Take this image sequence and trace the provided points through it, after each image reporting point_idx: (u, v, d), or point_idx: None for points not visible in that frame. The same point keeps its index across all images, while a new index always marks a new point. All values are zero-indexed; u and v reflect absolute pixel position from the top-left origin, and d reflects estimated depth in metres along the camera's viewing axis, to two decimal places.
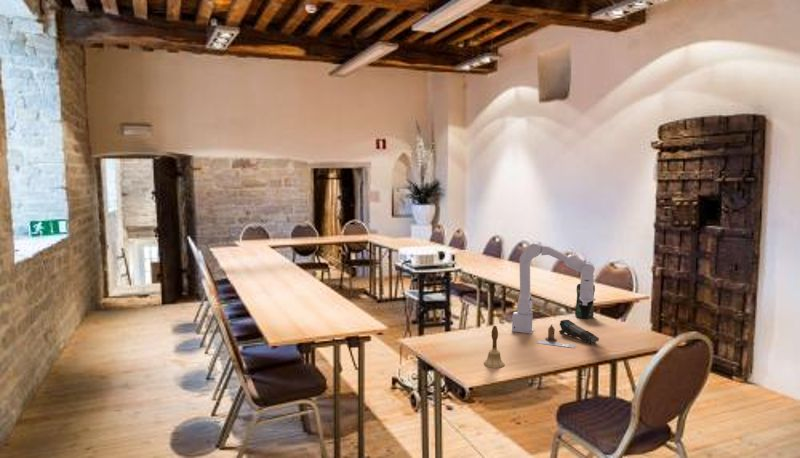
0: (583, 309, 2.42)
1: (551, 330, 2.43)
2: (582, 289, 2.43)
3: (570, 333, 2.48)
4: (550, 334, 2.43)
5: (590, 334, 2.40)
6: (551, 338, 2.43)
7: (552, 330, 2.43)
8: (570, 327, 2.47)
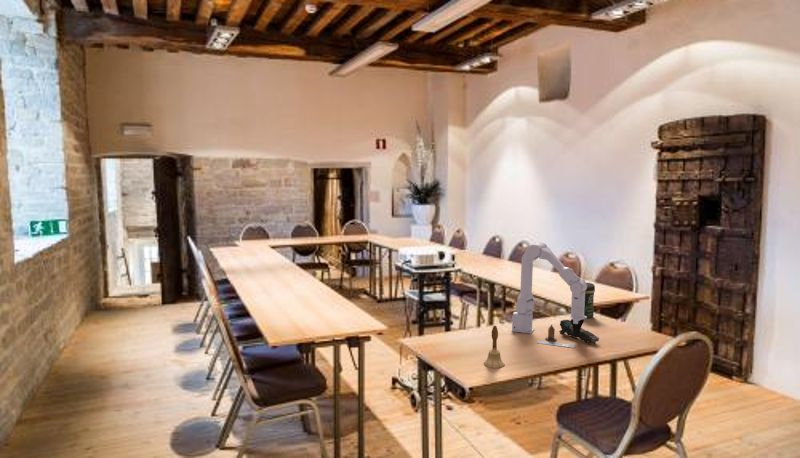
0: (575, 325, 2.41)
1: (551, 330, 2.43)
2: (573, 307, 2.39)
3: (570, 333, 2.48)
4: (550, 334, 2.43)
5: (590, 334, 2.40)
6: (551, 338, 2.43)
7: (552, 330, 2.43)
8: (570, 327, 2.47)
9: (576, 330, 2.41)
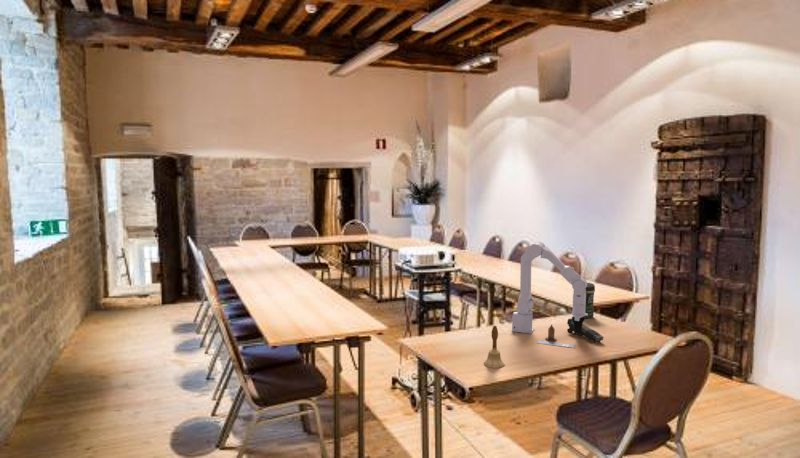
0: (576, 322, 2.46)
1: (551, 330, 2.43)
2: (574, 304, 2.44)
3: None
4: (550, 334, 2.43)
5: (595, 333, 2.42)
6: (551, 338, 2.43)
7: (552, 330, 2.43)
8: None
9: (577, 327, 2.46)
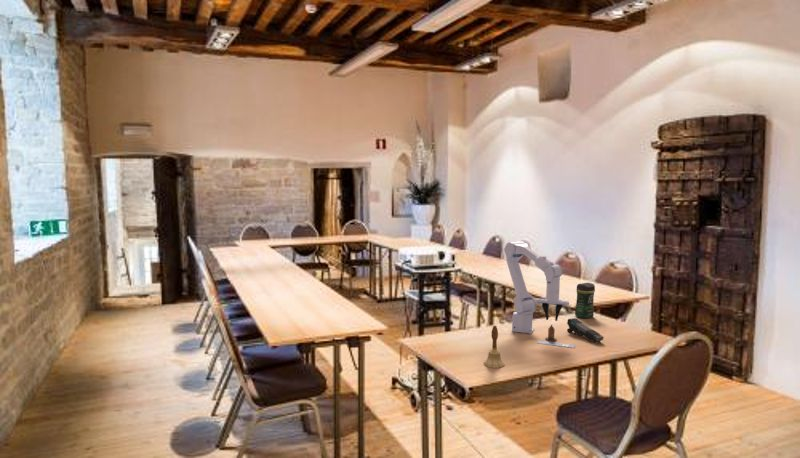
0: None
1: (551, 330, 2.43)
2: None
3: (577, 331, 2.51)
4: (550, 334, 2.43)
5: (595, 333, 2.42)
6: (551, 338, 2.43)
7: (552, 330, 2.43)
8: (576, 325, 2.50)
9: None
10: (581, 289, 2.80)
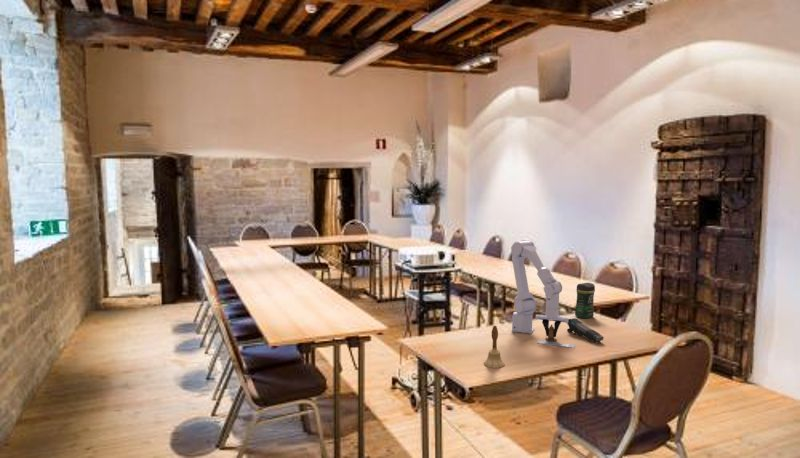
0: None
1: (551, 330, 2.43)
2: None
3: (577, 331, 2.51)
4: (550, 334, 2.43)
5: (595, 333, 2.42)
6: (551, 338, 2.43)
7: (552, 330, 2.43)
8: (576, 326, 2.50)
9: None
10: (581, 289, 2.80)
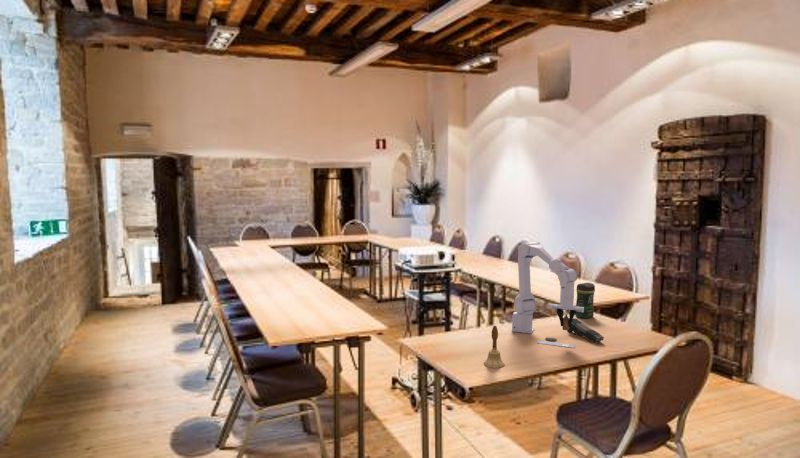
0: None
1: (566, 320, 2.34)
2: None
3: (577, 332, 2.51)
4: (565, 324, 2.34)
5: (595, 333, 2.42)
6: (566, 328, 2.34)
7: (567, 320, 2.34)
8: (576, 326, 2.50)
9: None
10: (581, 289, 2.80)
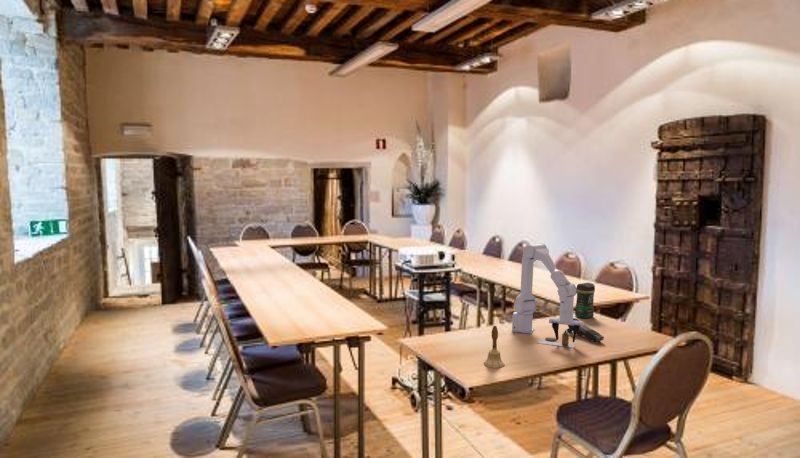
0: None
1: (565, 336, 2.34)
2: None
3: None
4: (564, 340, 2.35)
5: (595, 333, 2.42)
6: (565, 344, 2.35)
7: (566, 336, 2.34)
8: None
9: None
10: (581, 289, 2.80)
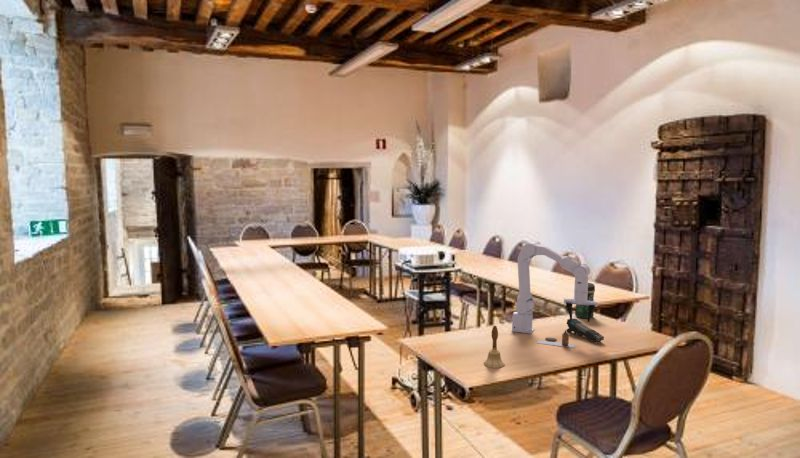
0: None
1: (565, 336, 2.34)
2: None
3: (576, 332, 2.51)
4: (564, 340, 2.35)
5: (595, 333, 2.42)
6: (565, 344, 2.35)
7: (566, 336, 2.34)
8: (576, 326, 2.50)
9: None
10: None
